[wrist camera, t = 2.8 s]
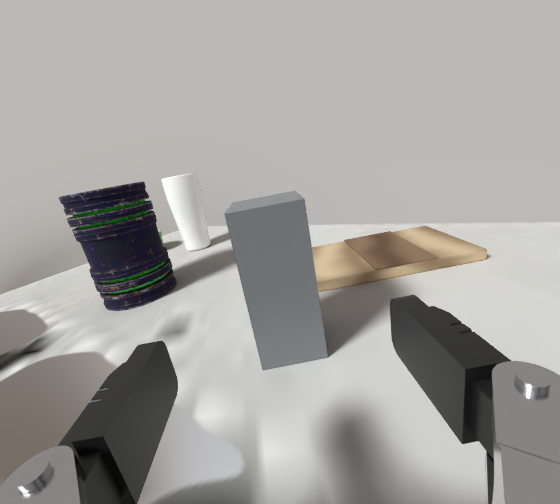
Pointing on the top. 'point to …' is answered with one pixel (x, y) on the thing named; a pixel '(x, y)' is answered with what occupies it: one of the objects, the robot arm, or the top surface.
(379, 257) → the board
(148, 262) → the storage jar
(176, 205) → the drinking glass
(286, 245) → the tall grey rectangular prism
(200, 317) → the top surface
